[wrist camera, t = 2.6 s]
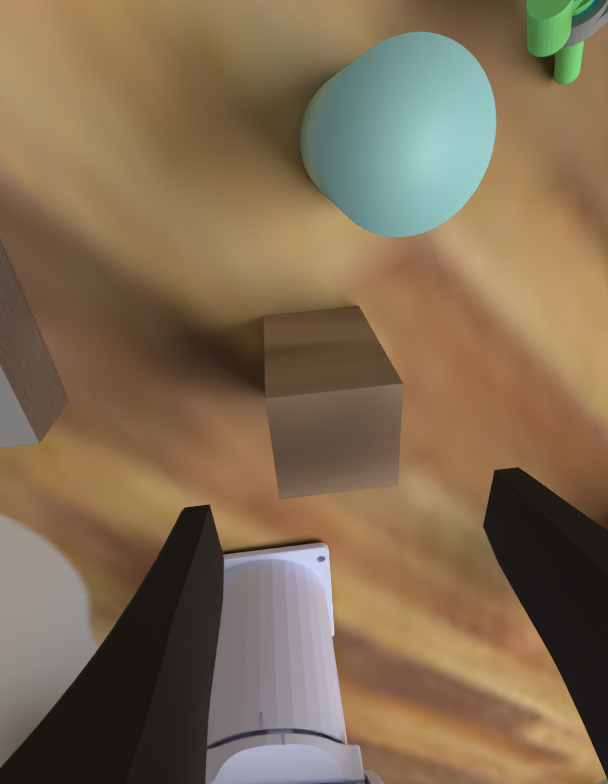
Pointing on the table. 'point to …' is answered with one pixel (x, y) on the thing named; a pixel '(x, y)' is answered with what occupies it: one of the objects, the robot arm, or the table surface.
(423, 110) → the round dowel
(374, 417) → the square bit
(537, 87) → the table surface
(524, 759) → the table surface
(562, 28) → the blue virus model
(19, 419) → the socket block
